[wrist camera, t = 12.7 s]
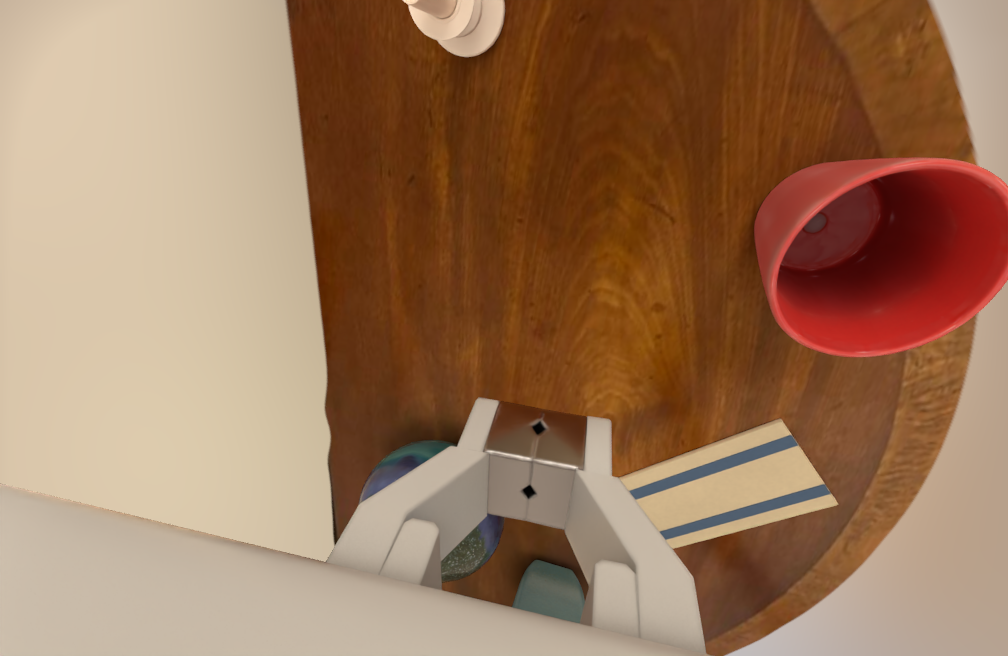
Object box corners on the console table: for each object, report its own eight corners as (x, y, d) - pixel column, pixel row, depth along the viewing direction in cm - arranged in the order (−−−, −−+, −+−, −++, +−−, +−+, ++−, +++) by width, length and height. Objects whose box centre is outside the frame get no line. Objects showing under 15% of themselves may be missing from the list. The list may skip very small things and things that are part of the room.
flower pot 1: (523, 544, 56) (510, 618, 48) (591, 564, 55) (589, 643, 47) (511, 581, 60) (497, 654, 53) (574, 600, 60) (569, 677, 52)
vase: (365, 427, 51) (296, 528, 40) (484, 407, 46) (444, 517, 34) (421, 516, 57) (375, 625, 46) (532, 507, 52) (511, 628, 41)
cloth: (780, 418, 39) (782, 421, 39) (836, 501, 42) (839, 505, 42) (591, 487, 48) (591, 491, 48) (650, 551, 52) (650, 555, 51)
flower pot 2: (697, 216, 32) (728, 265, 24) (856, 96, 27) (966, 106, 19) (778, 314, 35) (831, 389, 26) (939, 222, 29) (1068, 279, 21)
